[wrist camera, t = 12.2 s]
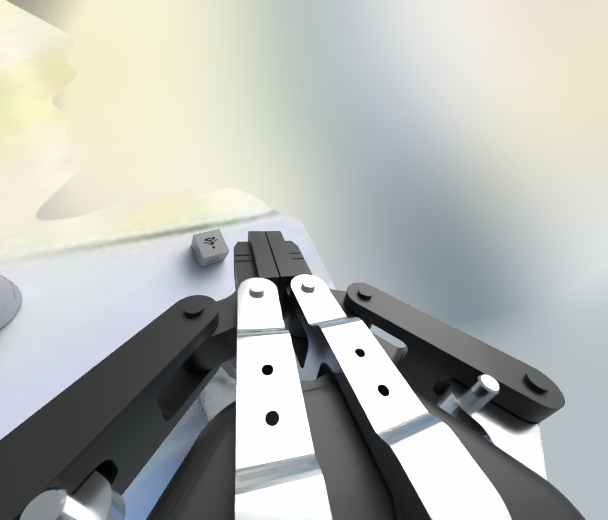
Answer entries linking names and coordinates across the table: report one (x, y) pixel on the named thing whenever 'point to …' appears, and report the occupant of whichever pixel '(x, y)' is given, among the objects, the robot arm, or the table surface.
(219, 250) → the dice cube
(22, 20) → the table surface
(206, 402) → the lid
